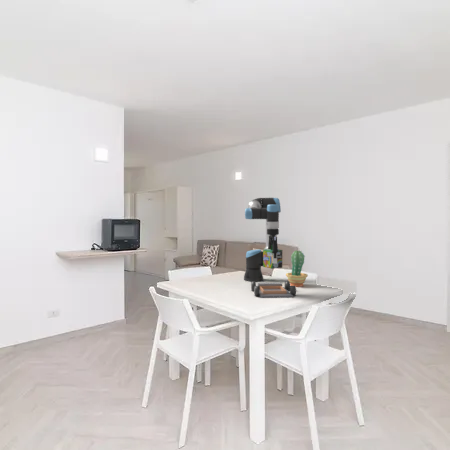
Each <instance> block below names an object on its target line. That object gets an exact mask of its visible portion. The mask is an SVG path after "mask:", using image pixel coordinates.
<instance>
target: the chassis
mask: <svg viewBox="0 0 450 450" xmlns="http://www.w3.org/2000/svg"><path fill="white" fill-rule="evenodd" d="M256 282H257V281H250V289H251V292H253V293H254V294H253V295H254V297H259V298H260V299H266V298H267V299H269V298H271V299H272V298H273V299H274V298H275V299H276V298H277V297H281V298H294V296H296V295H297V288H296V287H295V286H291V285H290V284H291V283H290V282H289V280H286V281H284V285H283V283H282V282H257V283H256Z"/></svg>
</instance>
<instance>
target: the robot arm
mask: <svg viewBox="0 0 450 450" xmlns="http://www.w3.org/2000/svg"><path fill="white" fill-rule="evenodd" d="M280 213H281V202H280V199H279V198H278V197H258V198H257V197H256V198H255V199H252V200H251V201H250V202H249V203H248V207H246V208H245V209H244V218H245V219H246V220H265V247H264V248H263V250H266V249H271V245H272V248H273V252H272V253H273V264H274V263H277V252H278V249H279V248H278V247H279V246H278V235H279V232H280V229H279V228H280V222H279V221H280V219H279V218H280ZM263 250H261V249H251V250H248V251H246V254H245V271H244V275H243V281H245V282H262V281H264V275H263V272H262V267H263Z"/></svg>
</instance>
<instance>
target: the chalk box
mask: <svg viewBox="0 0 450 450" xmlns="http://www.w3.org/2000/svg"><path fill="white" fill-rule="evenodd" d="M262 251H263V266H262V268H266V269H272V270H274V269H281V268H283V249H279V248H278V252H277V263H274V264H273V253H272V252H273V248H272V245H271V249H266V250H264V249H263V250H262Z"/></svg>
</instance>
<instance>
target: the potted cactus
mask: <svg viewBox="0 0 450 450" xmlns="http://www.w3.org/2000/svg"><path fill="white" fill-rule="evenodd" d="M290 257H291V259H290V261H291V265H292V266H291V272H286V273H285V276H286V277H287V281H289V282H290V286H295V287H298V288H299V287H303V286H304V284H305V282H306V280H307V277H308V276H309V275H308V274H307V273H303V272H302V269H303V265H304V264H305V257H306V256H305V254H304V253H303V252H302V250H297V249H296V250H294V251H293V252H292V254H291V256H290Z"/></svg>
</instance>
